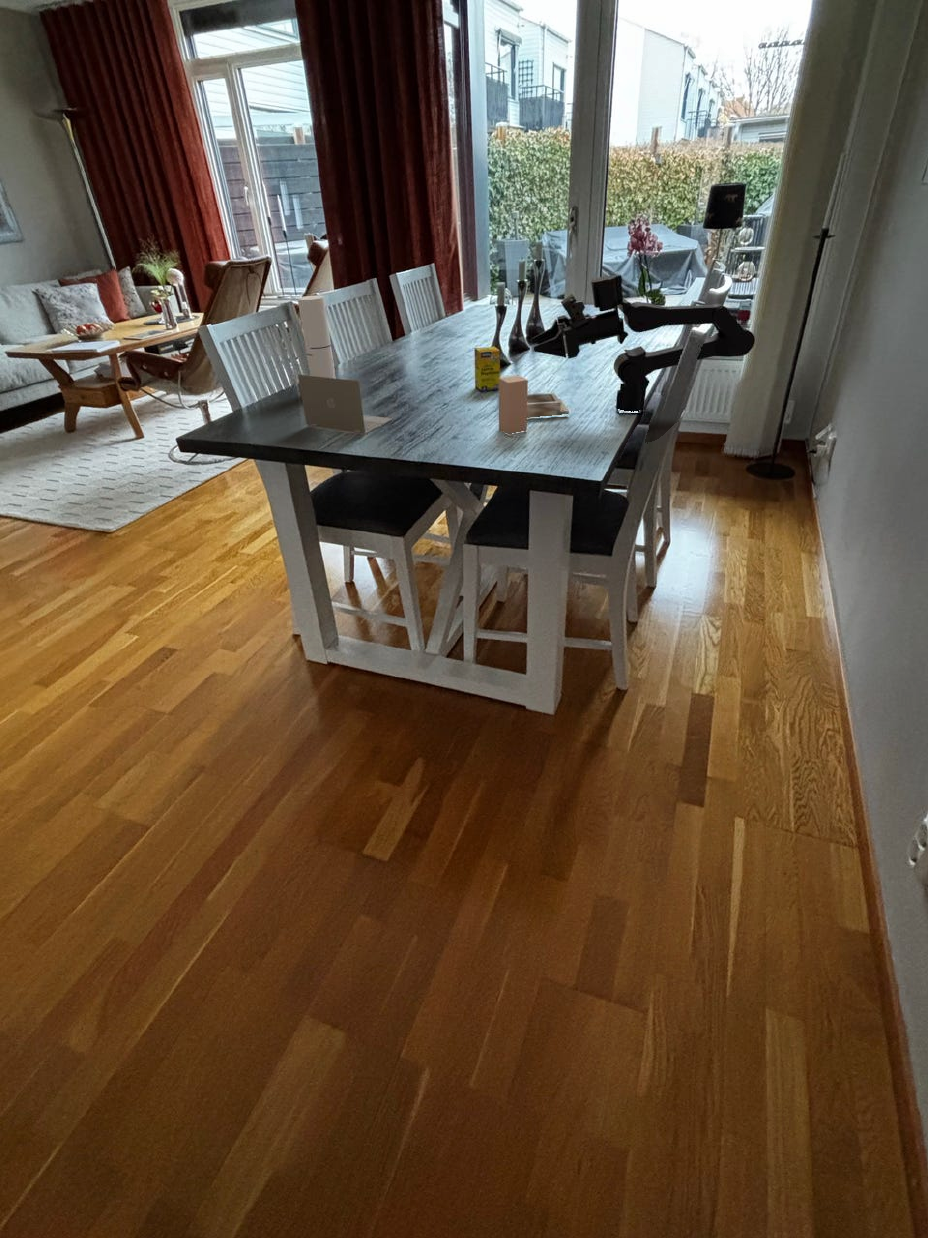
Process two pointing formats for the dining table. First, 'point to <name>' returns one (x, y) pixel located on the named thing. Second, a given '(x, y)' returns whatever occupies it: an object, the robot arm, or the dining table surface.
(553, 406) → the plate
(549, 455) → the dining table surface
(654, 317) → the robot arm
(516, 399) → the terracotta peg
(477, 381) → the supplement box
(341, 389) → the laptop
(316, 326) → the cylindrical container
